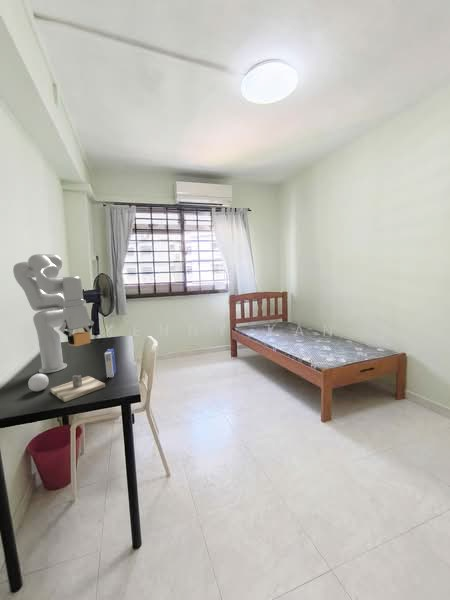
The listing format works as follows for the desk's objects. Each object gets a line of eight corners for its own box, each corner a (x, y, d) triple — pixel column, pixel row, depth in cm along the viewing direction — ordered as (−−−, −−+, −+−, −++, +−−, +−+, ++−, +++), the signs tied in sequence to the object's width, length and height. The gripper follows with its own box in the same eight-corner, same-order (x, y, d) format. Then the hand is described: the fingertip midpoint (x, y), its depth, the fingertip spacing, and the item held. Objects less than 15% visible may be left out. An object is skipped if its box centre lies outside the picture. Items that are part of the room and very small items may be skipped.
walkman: (110, 372, 133) (107, 348, 132) (116, 371, 134) (113, 347, 133) (106, 378, 126) (104, 353, 124) (112, 377, 126) (110, 352, 125)
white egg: (32, 388, 118) (29, 372, 117) (51, 385, 120) (49, 369, 120) (24, 398, 109) (21, 381, 108) (45, 394, 111) (43, 377, 110)
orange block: (68, 345, 123) (67, 334, 122) (82, 341, 128) (81, 330, 128) (76, 346, 119) (75, 334, 119) (90, 342, 125) (89, 331, 124)
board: (50, 391, 114) (48, 378, 113) (89, 378, 126) (87, 366, 125) (64, 402, 103) (62, 387, 103) (105, 386, 115) (103, 373, 115)
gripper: (87, 301, 131) (92, 337, 133) (50, 306, 116) (55, 346, 118) (97, 301, 127) (101, 338, 129) (59, 306, 113) (64, 347, 114)
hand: (79, 341), depth 124 cm, fingers closed on orange block, 6 cm apart
